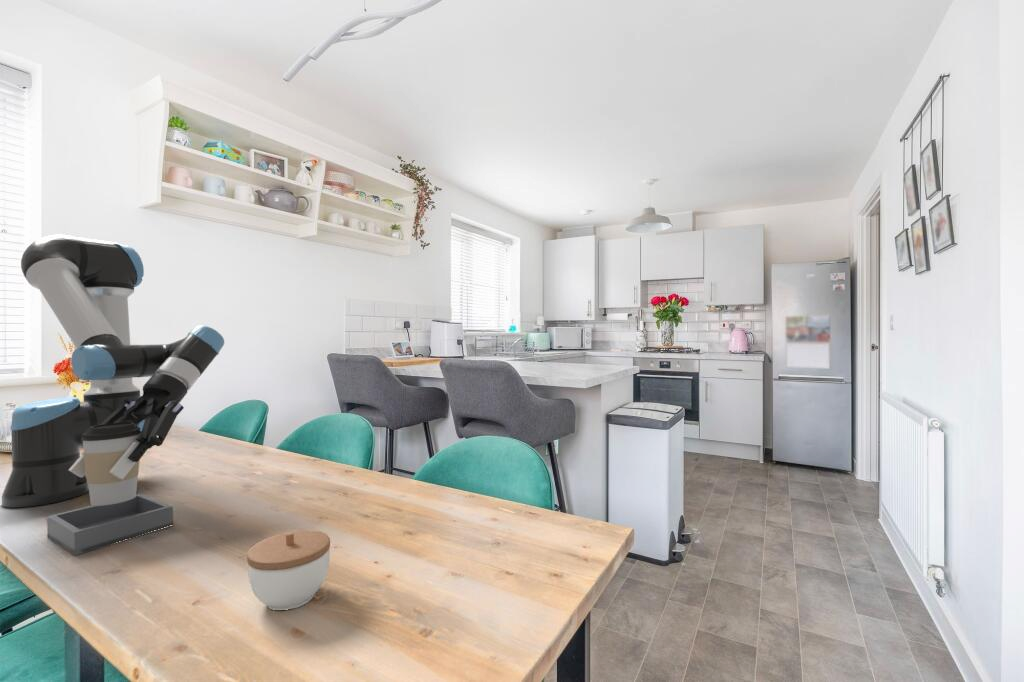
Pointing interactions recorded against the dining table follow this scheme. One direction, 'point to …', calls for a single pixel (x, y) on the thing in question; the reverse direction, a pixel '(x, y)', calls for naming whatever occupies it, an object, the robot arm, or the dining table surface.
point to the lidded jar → (288, 568)
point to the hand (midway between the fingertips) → (95, 474)
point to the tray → (108, 523)
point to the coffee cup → (109, 462)
